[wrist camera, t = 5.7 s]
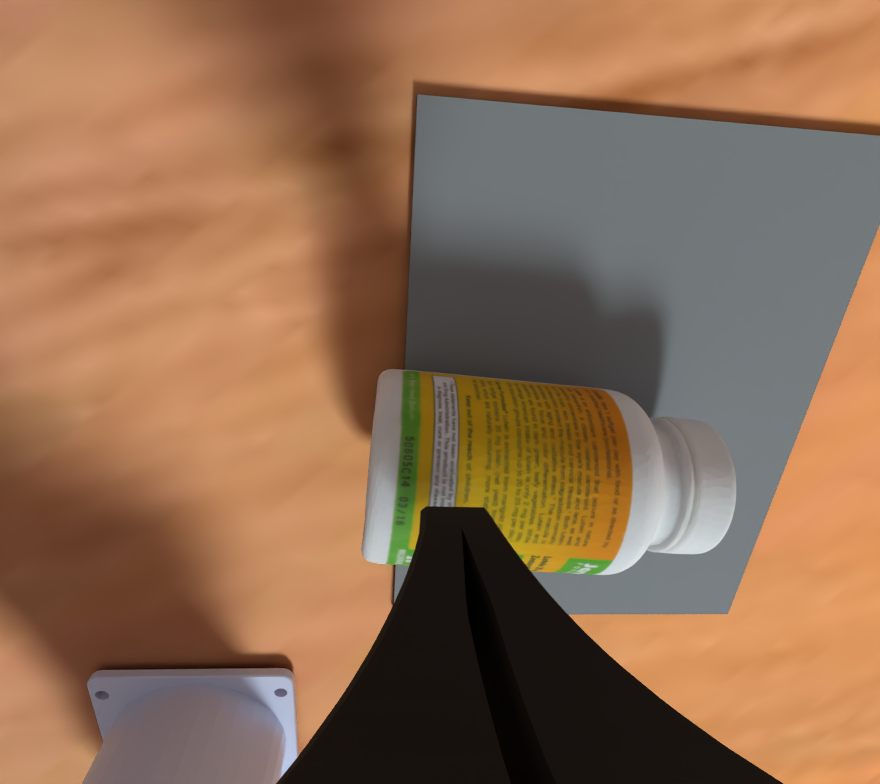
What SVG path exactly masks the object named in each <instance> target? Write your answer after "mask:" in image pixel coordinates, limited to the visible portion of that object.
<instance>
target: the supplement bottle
mask: <svg viewBox="0 0 880 784" xmlns="http://www.w3.org/2000/svg"><path fill="white" fill-rule="evenodd" d="M735 503H736V476H735V470H734V466H733V462H732V458H731V455H730V452H729V450H728V448H727V446H726V444H725V442H724V441H723V439H722V438H721V436H720V435H719V434H718V433H717V431H716V430H714V429H713V428H712V427H711V426H709V425H708V424H706V423H704V422H701V421H697V420H689V419H680V418H673V417H667V416H661V417H652V418H649V417H648V416H647V414H646V413H645V411H644V410H643V409H642V408H641V407H640V406H639V405H638V404H637V403H636V402H635V401H634V400H633V399H631V398H630V397H628V396H626V395H624V394H622V393H620V392H617V391H613V390H607V389H599V388H591V387H581V386H570V385H559V384H549V383H539V382H528V381H518V380H508V379H497V378H487V377H477V376H467V375H456V374H446V373H436V372H424V371H415V370H401V369H387V370H385V371H383V372H382V373H381V374H380V376H379V378H378V382H377V395H376V403H375V411H374V419H373V427H372V437H371V447H370V458H369V470H368V482H367V494H366V511H365V523H364V532H363V541H362V555H363V557H364V558H365V559H366V560H367V561H369V562H372V563H378V564H391V565H408V566H409V565H410V562H411V559H412V556H413V553H414V550H415V547H416V543H417V539H418V535H419V527H420V512H421V510H422V509H424V508H425V507H426V506H439V507H484V508H485V509H486V510H487V511H488V512H489V514H490V515H491V517H492V518H493V520H494V521H495V523H496V524H497V526H498V527H499V529H500V530H501V532H502V533H503V535H504V536H505V537H506V539H507V540H508V542H509V543H510V544H511V546H512V547H513V549H514V550H515V551H516V553H517V554H518V555H519V557H520V558H521V559H522V561H523V562H524V563H525V564H526V566H527V567H528V568H529V569H530V571H533V572H552V573H571V574H588V575H610V574H616V573H619V572H622V571H624V570H626V569H628V568H629V567H631V566H632V565H634V564H635V563H636V562H637V561H638V560H639V559H640V558H641V557H642V555H643V554H644V553H645V551H646V550H647V551H651V552H659V553H670V554H701V553H705V552H707V551H709V550H711V549H713V548H714V547H715V546H716V545H717V544H718V543H719V542H720V541H721V540H722V539H723V537H724V536H725V534H726V532H727V530H728V528H729V526H730V524H731V521H732V518H733V514H734V509H735Z"/></svg>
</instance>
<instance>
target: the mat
mask: <svg viewBox="0 0 880 784" xmlns="http://www.w3.org/2000/svg"><path fill="white" fill-rule="evenodd" d="M879 225H880V136H878V135H866V134H855V133H844V132H833V131H822V130H811V129H799V128H788V127H777V126H766V125H755V124H744V123H732V122H721V121H710V120H699V119H688V118H677V117H665V116H654V115H643V114H632V113H621V112H609V111H598V110H587V109H576V108H565V107H554V106H542V105H531V104H520V103H509V102H498V101H487V100H475V99H464V98H453V97H442V96H431V95H419V94H418V95H417V114H416V135H415V157H414V178H413V200H412V222H411V243H410V265H409V286H408V308H407V330H406V351H405V370H415V371H424V372H436V373H446V374H456V375H467V376H477V377H487V378H497V379H508V380H518V381H528V382H539V383H549V384H559V385H570V386H581V387H591V388H599V389H607V390H613V391H617V392H620V393H622V394H624V395H626V396H628V397H630V398H631V399H633V400H634V401H635V402H636V403H637V404H638V405H639V406H640V407H641V408H642V409H643V410H644V411H645V413H646V414H647V416H648V417H649V418H652V417H661V416H667V417H673V418H680V419H689V420H697V421H701V422H704V423H706V424H708V425H709V426H711V427H712V428H713V429H714V430H716V431H717V433H718V434H719V435H720V436H721V438H722V439H723V441H724V442H725V444H726V446H727V448H728V450H729V452H730V455H731V458H732V462H733V466H734V470H735V476H736V503H735V509H734V514H733V518H732V521H731V524H730V526H729V528H728V530H727V532H726V534H725V536H724V537H723V539H722V540H721V541H720V542H719V543H718V544H717V545H716V546H715V547H714V548H713V549H711V550H709V551H707V552H705V553H701V554H670V553H659V552H651V551H647V550H646V551H645V553H644V554H643V555H642V557H641V558H640V559H639V560H638V561H637V562H636V563H635V564H634V565H632V566H631V567H629V568H628V569H626V570H624V571H622V572H619V573H616V574H610V575H588V574H571V573H552V572H533V571H531V572H532V573H533V575H534V576H535V577H536V578H537V580H538V581H539V582H540V583H541V584H542V586H543V587H544V588H545V589H546V590H547V592H548V593H549V594H550V595H551V596H552V597H553V599H554V600H555V601H556V602H557V603H558V604H559V605H560V606H561V608H562V609H563V610H564V611H565V612H566V613H567V614H728V612H729V610H730V607H731V605H732V602H733V599H734V597H735V594H736V592H737V589H738V587H739V584H740V581H741V579H742V576H743V574H744V571H745V569H746V566H747V563H748V561H749V558H750V556H751V553H752V551H753V548H754V546H755V543H756V540H757V538H758V535H759V533H760V530H761V528H762V525H763V522H764V520H765V517H766V515H767V512H768V510H769V507H770V504H771V502H772V499H773V497H774V494H775V492H776V489H777V486H778V484H779V481H780V479H781V476H782V474H783V471H784V469H785V466H786V463H787V461H788V458H789V456H790V453H791V451H792V448H793V445H794V443H795V440H796V438H797V435H798V433H799V430H800V427H801V425H802V422H803V420H804V417H805V415H806V412H807V410H808V407H809V404H810V402H811V399H812V397H813V394H814V392H815V389H816V386H817V384H818V381H819V379H820V376H821V374H822V371H823V368H824V366H825V363H826V361H827V358H828V356H829V353H830V351H831V348H832V345H833V343H834V340H835V338H836V335H837V333H838V330H839V327H840V325H841V322H842V320H843V317H844V315H845V312H846V309H847V307H848V304H849V302H850V299H851V297H852V294H853V292H854V289H855V286H856V284H857V281H858V279H859V276H860V274H861V271H862V268H863V266H864V263H865V261H866V258H867V256H868V253H869V250H870V248H871V245H872V243H873V240H874V238H875V235H876V233H877V230H878V227H879ZM408 568H409V566H408V565H396V567H395V589H394V602H395V600H396V598H397V595H398V593H399V591H400V588H401V586H402V584H403V582H404V579H405V576H406V574H407V571H408Z"/></svg>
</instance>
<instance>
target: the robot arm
mask: <svg viewBox="0 0 880 784" xmlns="http://www.w3.org/2000/svg"><path fill="white" fill-rule="evenodd" d="M87 688H88V691H89V695H90V698H91V702H92V705H93V708H94V712H95V715H96V719H97V722H98V726H99V729H100V733H101V736H102V739H103V744H102V746H101V748H100V750H99V752H98V754H97V756H96V757H95V759H94V761H93V763H92V765H91V767H90V769H89V771H88V773H87V775H86V777H85V779H84V781H83V783H82V784H783V783H782V782H780V781H778V780H777V779H775V778H774V777H772V776H771V775H769V774H768V773H766V772H764V771H763V770H761V769H760V768H758V767H757V766H755V765H754V764H752V763H750V762H749V761H747V760H746V759H744V758H743V757H741V756H740V755H738V754H736V753H735V752H733V751H732V750H730V749H729V748H727V747H726V746H724V745H723V744H721V743H720V742H719V741H717V740H716V739H714V738H713V737H712V736H710V735H709V734H707V733H706V732H705V731H703V730H702V729H701V728H699V727H698V726H696V725H695V724H694V723H692V722H691V721H689V720H688V719H687V718H685V717H684V716H683V715H681V714H680V713H679V712H677V711H676V710H675V709H673V708H672V707H671V706H669V705H668V704H667V703H666V702H664V701H663V700H662V699H660V698H659V697H658V696H657V695H655V694H654V693H653V692H652V691H651V690H649V689H648V688H647V687H646V686H645V685H643V684H642V683H641V682H640V681H638V680H637V679H636V678H635V677H634V676H632V675H631V674H630V673H629V672H628V671H626V670H625V669H624V668H623V667H622V666H620V665H619V664H618V663H617V662H616V661H615V660H614V659H613V658H611V657H610V656H609V655H608V654H607V653H606V652H605V651H604V650H603V649H602V648H601V647H600V646H599V645H598V644H596V643H595V642H594V641H593V640H592V639H591V638H590V637H589V636H588V635H587V634H586V633H585V632H584V631H583V630H582V629H581V628H580V627H579V626H578V625H577V624H576V623H575V622H574V621H573V619H572V618H571V617H570V616H569V615H568V614H567V613H566V612H565V611H564V610H563V609H562V608H561V606H560V605H559V604H558V603H557V602H556V601H555V600H554V599H553V597H552V596H551V595H550V594H549V593H548V592H547V590H546V589H545V588H544V587H543V586H542V584H541V583H540V582H539V581H538V580H537V578H536V577H535V576H534V575H533V573H532V572H531V571H530V569H529V568H528V567H527V566H526V564H525V563H524V562H523V561H522V559H521V558H520V557H519V555H518V554H517V553H516V551H515V550H514V549H513V547H512V546H511V544H510V543H509V542H508V540H507V539H506V537H505V536H504V535H503V533H502V532H501V530H500V529H499V527H498V526H497V524H496V523H495V521H494V520H493V518H492V517H491V515H490V514H489V512H488V511H487V510H486V509H485V508H484V507H439V506H426V507H425V508H424V509H422V510H421V512H420V527H419V535H418V539H417V543H416V547H415V550H414V553H413V556H412V559H411V562H410V565H409V568H408V571H407V574H406V576H405V579H404V582H403V584H402V586H401V588H400V591H399V593H398V595H397V598H396V600H395V602H394V605H393V607H392V609H391V611H390V613H389V615H388V617H387V619H386V621H385V623H384V625H383V627H382V629H381V631H380V633H379V635H378V637H377V639H376V640H375V642H374V644H373V646H372V648H371V650H370V651H369V653H368V655H367V656H366V658H365V660H364V661H363V663H362V665H361V666H360V668H359V670H358V671H357V673H356V675H355V676H354V678H353V680H352V681H351V683H350V684H349V686H348V687H347V689H346V690H345V692H344V694H343V695H342V697H341V698H340V700H339V701H338V702H337V704H336V705H335V707H334V708H333V709H332V711H331V712H330V714H329V715H328V716H327V718H326V719H325V721H324V722H323V723H322V725H321V726H320V728H319V729H318V730H317V732H316V733H315V735H314V736H313V737H312V739H311V740H310V741H309V743H308V744H307V746H306V747H305V748H304V749H303V751H302V752H301V753H300V755H299V750H298V733H297V716H296V699H295V682H294V675H293V673H292V672H291V671H290V670H288V669H286V668H234V669H143V670H99V671H96V672H94V673H93V674H92V675H91V677H90V679H89V680H88V682H87Z"/></svg>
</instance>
